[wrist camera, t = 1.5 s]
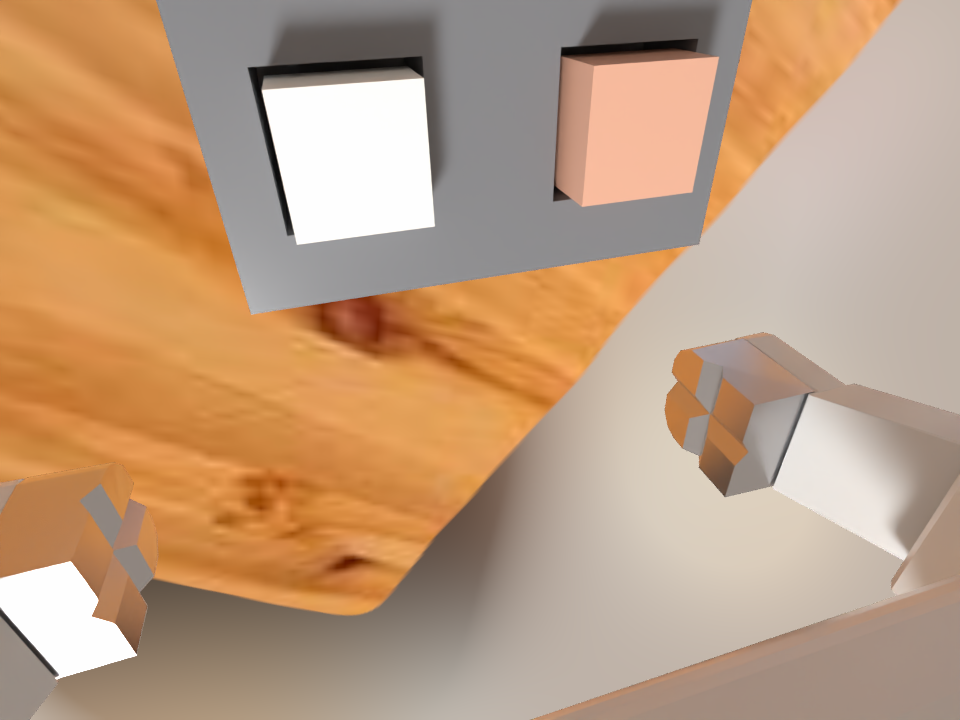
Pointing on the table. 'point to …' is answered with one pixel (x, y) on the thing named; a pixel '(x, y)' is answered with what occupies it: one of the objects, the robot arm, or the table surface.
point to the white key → (352, 151)
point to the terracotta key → (631, 123)
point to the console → (437, 132)
